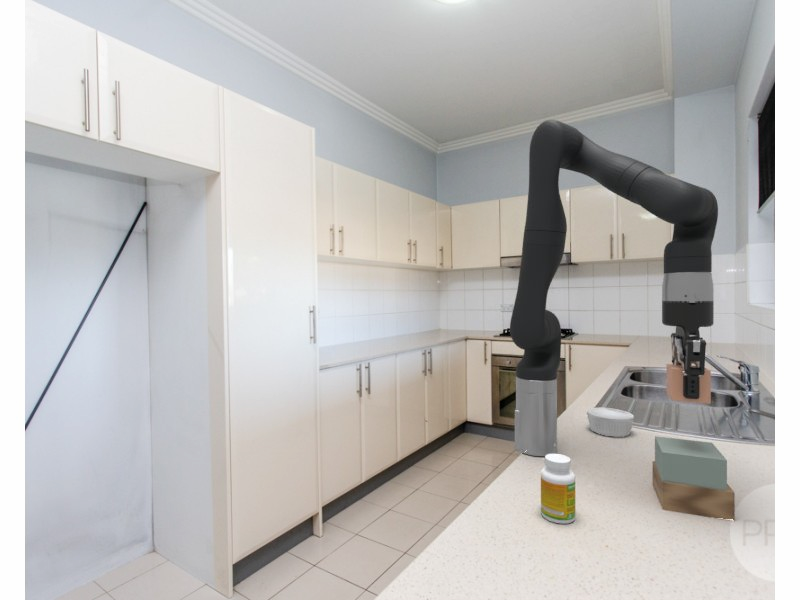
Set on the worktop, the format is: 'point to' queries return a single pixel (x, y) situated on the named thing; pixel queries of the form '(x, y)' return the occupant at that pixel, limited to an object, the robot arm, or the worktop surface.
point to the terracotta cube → (677, 385)
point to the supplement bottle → (558, 489)
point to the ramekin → (610, 421)
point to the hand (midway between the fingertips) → (687, 394)
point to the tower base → (694, 498)
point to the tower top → (690, 463)
